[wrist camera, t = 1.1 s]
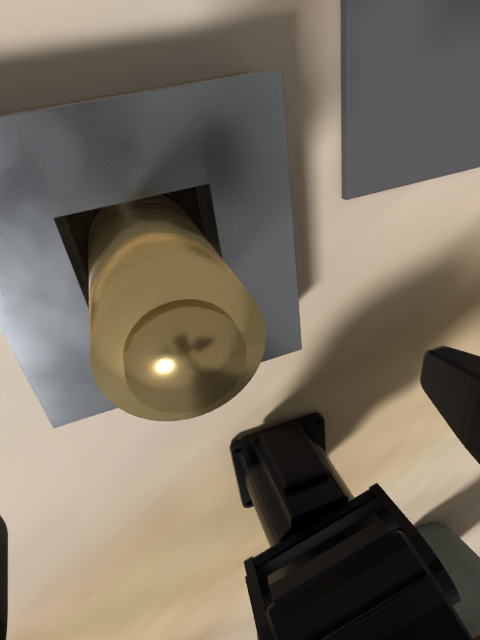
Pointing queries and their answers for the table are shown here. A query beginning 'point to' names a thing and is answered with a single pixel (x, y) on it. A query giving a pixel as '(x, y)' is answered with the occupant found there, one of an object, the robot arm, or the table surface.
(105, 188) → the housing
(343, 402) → the table surface
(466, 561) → the bottle
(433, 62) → the mat
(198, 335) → the brass cylinder
